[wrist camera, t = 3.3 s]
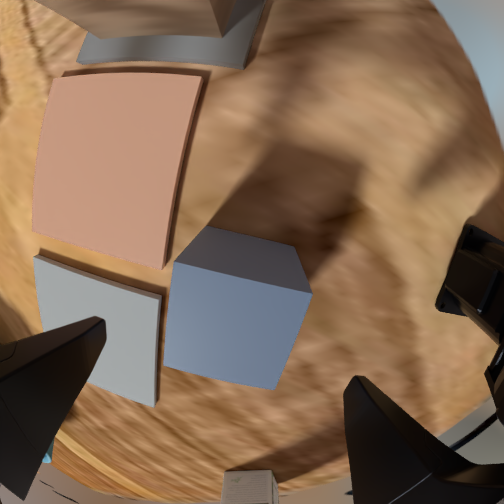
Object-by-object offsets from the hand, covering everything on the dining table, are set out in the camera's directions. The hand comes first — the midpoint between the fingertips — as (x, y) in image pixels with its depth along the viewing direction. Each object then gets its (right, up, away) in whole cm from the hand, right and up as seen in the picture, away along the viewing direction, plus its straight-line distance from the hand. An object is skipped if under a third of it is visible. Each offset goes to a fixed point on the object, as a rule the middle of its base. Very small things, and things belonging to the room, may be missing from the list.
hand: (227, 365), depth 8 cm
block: (0, +2, +7) cm, 8 cm away
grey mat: (-11, -3, +9) cm, 15 cm away
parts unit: (-3, +21, +2) cm, 21 cm away
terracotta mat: (-8, +9, +5) cm, 14 cm away
